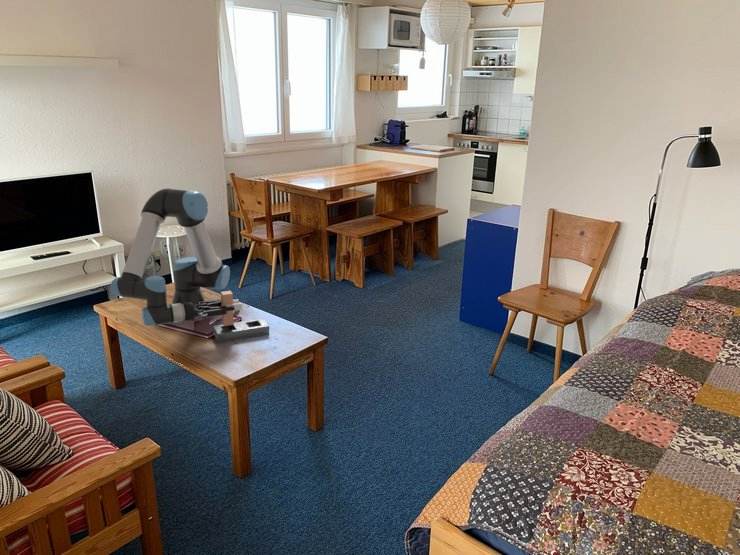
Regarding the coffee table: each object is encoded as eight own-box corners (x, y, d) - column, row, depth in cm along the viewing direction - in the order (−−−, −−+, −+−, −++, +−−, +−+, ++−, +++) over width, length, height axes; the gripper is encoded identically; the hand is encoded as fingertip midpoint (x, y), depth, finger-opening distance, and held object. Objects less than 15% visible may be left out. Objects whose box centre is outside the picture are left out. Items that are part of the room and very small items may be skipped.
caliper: (238, 310, 271) (237, 298, 269) (240, 311, 270) (239, 299, 268) (207, 325, 254) (207, 312, 252) (209, 325, 253) (208, 312, 251)
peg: (221, 322, 241) (220, 291, 237) (231, 321, 243) (230, 290, 239) (224, 326, 238) (223, 294, 234) (233, 324, 240) (232, 293, 235)
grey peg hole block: (213, 334, 244) (213, 325, 243) (262, 326, 254) (262, 318, 253) (218, 342, 237) (218, 334, 236) (269, 334, 247) (269, 326, 246)
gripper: (179, 313, 238) (234, 305, 249) (187, 328, 224) (245, 319, 235) (178, 296, 236) (234, 289, 246) (186, 310, 222) (245, 303, 232)
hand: (239, 304), depth 241 cm, fingers closed on peg, 4 cm apart
